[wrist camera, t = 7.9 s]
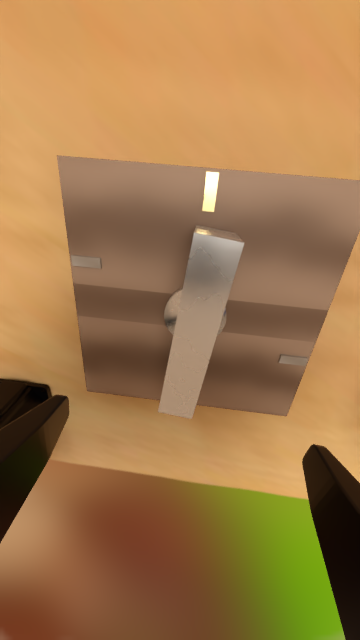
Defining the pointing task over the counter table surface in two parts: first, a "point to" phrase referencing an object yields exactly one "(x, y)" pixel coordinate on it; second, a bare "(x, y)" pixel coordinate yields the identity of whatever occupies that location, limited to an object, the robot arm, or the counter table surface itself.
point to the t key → (198, 316)
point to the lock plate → (171, 264)
